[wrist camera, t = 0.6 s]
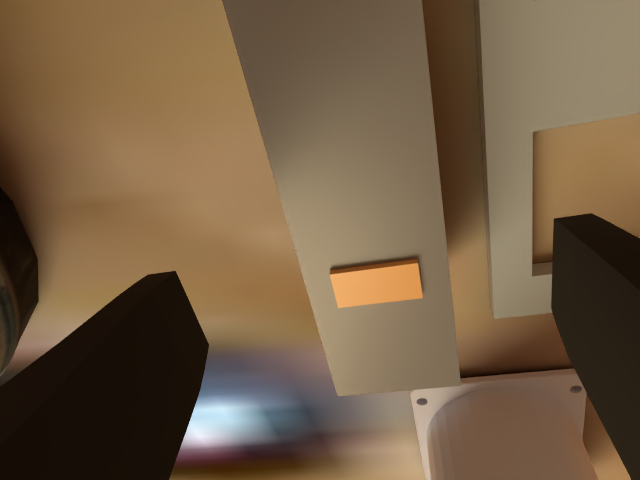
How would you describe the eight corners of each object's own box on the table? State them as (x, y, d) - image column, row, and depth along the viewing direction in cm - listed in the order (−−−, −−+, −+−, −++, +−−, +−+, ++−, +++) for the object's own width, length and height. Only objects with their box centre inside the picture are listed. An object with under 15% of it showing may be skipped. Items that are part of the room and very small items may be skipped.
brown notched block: (438, 275, 21) (461, 390, 16) (344, 287, 21) (337, 401, 16) (391, -132, 14) (406, -166, 8) (252, -94, 14) (188, -104, 9)
